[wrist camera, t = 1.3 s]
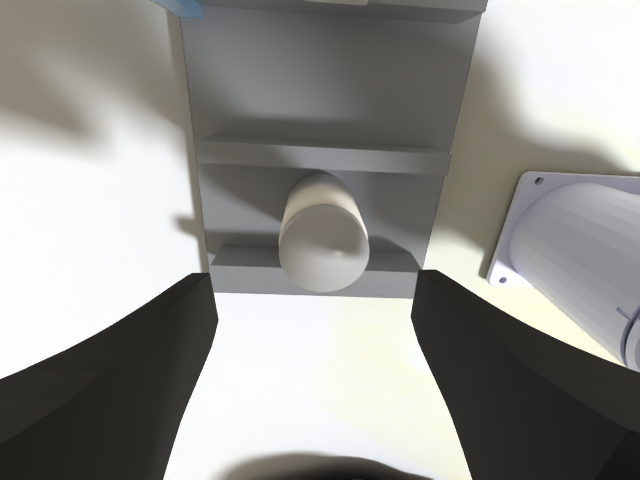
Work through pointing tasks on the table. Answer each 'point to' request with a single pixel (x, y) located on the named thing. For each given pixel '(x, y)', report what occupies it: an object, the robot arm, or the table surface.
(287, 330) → the table surface
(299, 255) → the cream rounded cylinder
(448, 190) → the table surface
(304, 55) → the grey slotted rack
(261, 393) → the table surface
